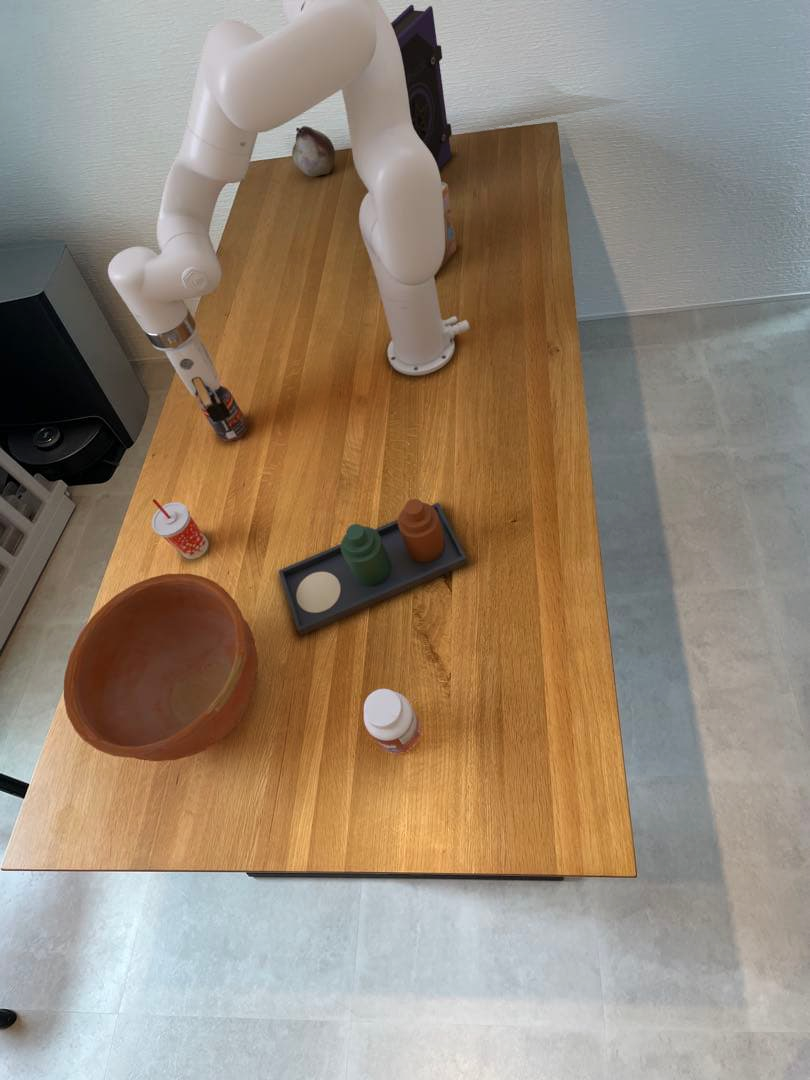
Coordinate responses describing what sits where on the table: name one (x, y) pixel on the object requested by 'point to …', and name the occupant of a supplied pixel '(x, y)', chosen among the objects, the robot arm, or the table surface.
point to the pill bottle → (391, 721)
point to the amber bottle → (421, 531)
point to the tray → (360, 596)
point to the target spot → (318, 592)
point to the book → (424, 80)
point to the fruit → (313, 152)
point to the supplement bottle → (231, 425)
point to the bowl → (161, 670)
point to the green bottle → (366, 555)
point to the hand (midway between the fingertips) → (217, 404)
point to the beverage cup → (179, 529)
